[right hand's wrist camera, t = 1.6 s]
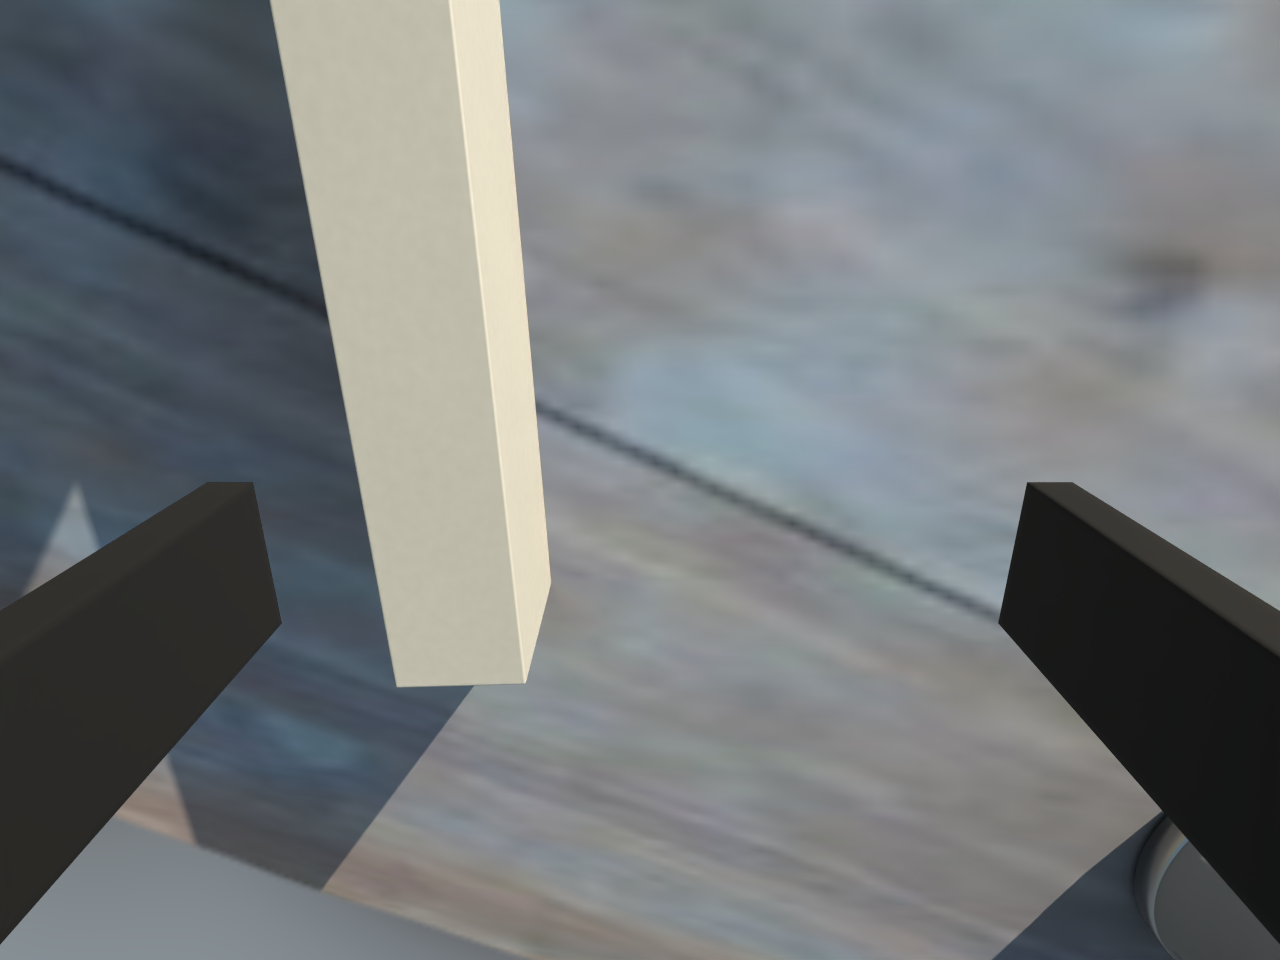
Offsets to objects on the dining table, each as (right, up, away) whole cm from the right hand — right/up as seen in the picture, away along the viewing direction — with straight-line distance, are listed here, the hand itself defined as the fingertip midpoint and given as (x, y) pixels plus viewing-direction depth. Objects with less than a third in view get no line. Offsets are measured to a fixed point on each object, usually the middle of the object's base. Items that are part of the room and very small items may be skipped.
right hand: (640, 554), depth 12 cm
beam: (-7, +10, +17) cm, 21 cm away
